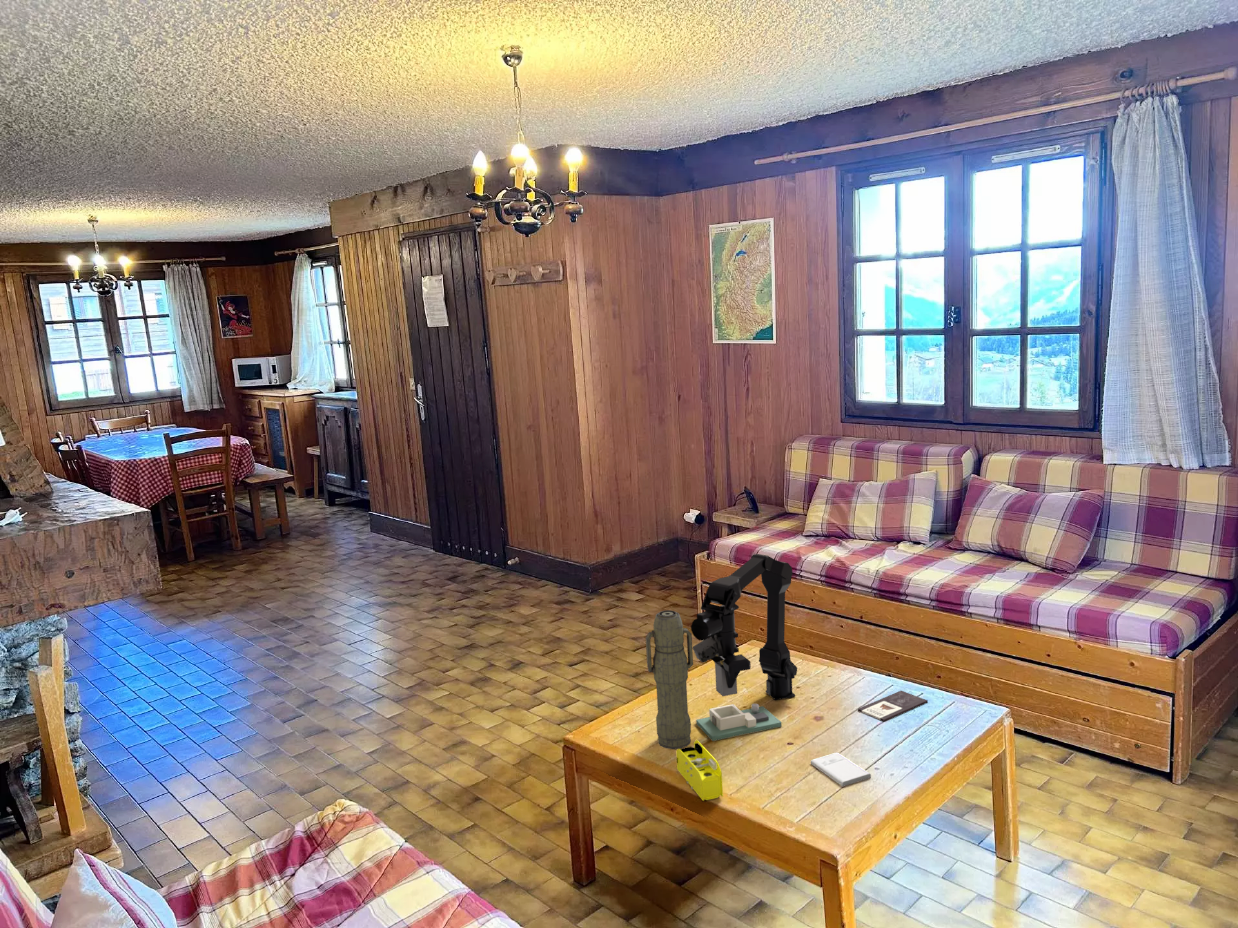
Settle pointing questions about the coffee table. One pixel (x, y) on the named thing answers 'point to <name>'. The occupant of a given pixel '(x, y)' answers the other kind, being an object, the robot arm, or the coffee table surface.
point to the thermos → (671, 678)
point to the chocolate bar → (892, 705)
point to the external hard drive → (840, 769)
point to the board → (736, 721)
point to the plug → (723, 681)
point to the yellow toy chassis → (700, 771)
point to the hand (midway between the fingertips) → (726, 684)
